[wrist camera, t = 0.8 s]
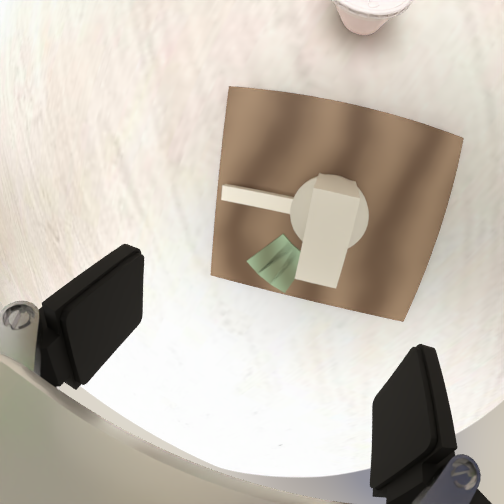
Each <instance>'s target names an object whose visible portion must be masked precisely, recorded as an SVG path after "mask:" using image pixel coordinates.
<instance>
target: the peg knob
mask: <svg viewBox="0 0 504 504" xmlns="http://www.w3.org/2000/svg"><path fill="white" fill-rule="evenodd" d="M221 200H224V201H229V202H234V203H239V204H244V205H249V206H254V207H259V208H264V209H268V210H273V211H278V212H282V213H287V214H290V218H291V223H292V227H293V229H294V231H295V233H296V234H297V236H298V237H299V238H300V239H301V240H302V241H303V243H302V247H301V252H300V257H299V261H298V266H297V270H296V275H295V279H298V280H302V281H306V282H310V283H314V284H319V285H323V286H327V287H331V288H335V289H336V287H337V284H338V280H339V277H340V274H341V270H342V267H343V263H344V260H345V256H346V253H347V249H348V248H350V247H351V246H353V245H354V244H356V243H357V242H358V241H359V240H360V239H361V237H362V236H363V234H364V232H365V230H366V228H367V225H368V220H369V211H368V206H367V202H366V200H365V197H364V195H363V193H362V192H361V190H360V189H359V188H358V187H357V184H356V181H351V180H348V179H346V178H344V177H342V176H338V175H333V174H321V173H319V175H318V176H316V177H313V178H311V179H310V180H308V181H307V182H305V183H304V184H303V185H302V186H301V187H300V188H299V190H298V191H297V193H296V194H295V196H294V197H291V196H286V195H281V194H276V193H271V192H266V191H261V190H256V189H251V188H246V187H240V186H235V185H230V184H224V185H223V186H222V196H221Z"/></svg>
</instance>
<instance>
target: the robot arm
mask: <svg viewBox="0 0 504 504" xmlns="http://www.w3.org/2000/svg"><path fill="white" fill-rule="evenodd" d="M143 274H144V256H143V255H142V254H141V251H140V249H138V248H135V247H133V246H130V245H128V244H123V245H121V246H120V247H118V248H117V249H115V250H114V251H113V252H111V253H110V254H108V255H107V256H105V257H104V258H102V259H101V260H100V261H98V262H97V263H95V264H94V265H92V266H91V267H90V268H88V269H87V270H85V271H84V272H83V273H81V274H80V275H78V276H77V277H76V278H74V279H73V280H72V281H70V282H69V283H67V284H66V285H65V286H63V287H62V288H61V289H59V290H58V291H57V292H55V293H54V294H53V295H51V296H50V297H49V298H47V299H46V300H45V301H44V302H42V307H41V308H40V309H39V310H38V308H37V307H36V306H35V305H34V304H33V303H30V302H28V301H16V302H13V303H10V304H9V305H7V306H5V307H4V308H3V309H2V310H1V312H0V504H349V503H342V502H335V501H329V500H323V499H317V498H312V497H307V496H301V495H297V494H293V493H289V492H284V491H280V490H276V489H272V488H268V487H265V486H261V485H258V484H254V483H251V482H247V481H244V480H241V479H238V478H235V477H232V476H229V475H226V474H223V473H220V472H217V471H214V470H212V469H209V468H206V467H204V466H201V465H198V464H196V463H193V462H191V461H188V460H186V459H184V458H181V457H179V456H177V455H174V454H172V453H170V452H168V451H166V450H163V449H161V448H159V447H157V446H155V445H153V444H151V443H149V442H147V441H145V440H142V439H141V438H139V437H137V436H135V435H133V434H131V433H129V432H127V431H125V430H123V429H121V428H120V427H118V426H116V425H114V424H113V423H111V422H109V421H107V420H106V419H104V418H102V417H101V416H99V415H97V414H96V413H94V412H92V411H91V410H89V409H87V408H86V407H84V406H83V405H81V404H80V403H78V402H76V401H75V400H73V399H72V398H70V397H69V396H67V395H66V394H64V393H63V392H61V391H60V386H61V385H62V384H63V382H65V383H67V384H68V385H70V386H71V387H72V388H74V389H77V388H78V387H79V386H80V385H81V384H82V385H85V384H86V383H87V382H88V381H89V380H90V379H91V378H92V377H93V376H94V374H95V373H96V372H97V371H98V370H99V369H100V368H101V366H102V365H103V364H104V363H105V362H106V361H107V360H108V358H109V357H110V356H111V355H112V354H113V353H114V352H115V351H116V349H117V348H118V347H119V346H120V345H121V344H122V343H123V342H124V340H125V339H126V338H127V337H128V336H129V335H130V334H131V333H132V332H133V330H134V329H135V328H136V327H137V326H138V325H139V324H140V322H141V319H142V312H143ZM456 449H457V443H456V438H455V431H454V425H453V420H452V415H451V410H450V405H449V401H448V396H447V392H446V388H445V383H444V379H443V375H442V371H441V368H440V364H439V360H438V357H437V353H436V350H435V348H433V347H429V346H426V345H422V344H419V345H417V346H416V347H412V348H411V349H410V351H409V352H408V354H407V355H406V356H405V358H404V359H403V361H402V362H401V364H400V365H399V366H398V368H397V369H396V370H395V372H394V373H393V374H392V376H391V377H390V378H389V380H388V381H387V382H386V384H385V385H384V386H383V388H382V389H381V390H380V391H379V393H378V394H377V395H376V397H375V398H374V401H373V406H372V455H371V473H370V474H371V475H370V487H371V488H373V497H386V498H387V500H386V504H491V502H490V501H488V500H487V498H486V497H485V496H484V495H483V494H482V493H481V492H480V491H479V490H478V489H477V488H478V486H479V483H480V476H481V474H480V470H479V467H478V465H477V463H476V462H475V461H474V460H473V459H472V458H471V457H469V456H467V455H464V454H460V455H456V456H455V452H454V451H455V450H456Z"/></svg>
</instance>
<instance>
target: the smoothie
mask: <svg viewBox="0 0 504 504" xmlns="http://www.w3.org/2000/svg"><path fill="white" fill-rule="evenodd" d="M331 1H332V2H334V4H335V6H336V8H337V10H338V13H339V15H340V17H341V20H342V22H343V24H344V25H345V27H346V28H347V29H348V30H350V31H351V32H353V33H355V34H358V35H370V34H373V33H374V32H376V31H377V30H378V29H379V28H380V27H381V26H382V25H383V24H384V23H386V22H387V21H388V20H389V19H390V18H392V17H395V16H397V15H400V14H401V13H403V12H404V11H405V10H406V9H408V7H409V6H410V4H411V3H412V1H413V0H331Z"/></svg>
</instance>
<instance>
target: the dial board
mask: <svg viewBox="0 0 504 504" xmlns="http://www.w3.org/2000/svg"><path fill="white" fill-rule="evenodd" d="M462 143H463V138H462V137H459V136H456V135H454V134H451V133H448V132H446V131H443V130H440V129H437V128H434V127H431V126H428V125H425V124H422V123H419V122H416V121H413V120H409V119H406V118H403V117H399V116H396V115H392V114H389V113H385V112H381V111H378V110H374V109H370V108H366V107H361V106H357V105H353V104H348V103H344V102H339V101H334V100H329V99H324V98H318V97H313V96H307V95H300V94H294V93H287V92H280V91H272V90H263V89H254V88H244V87H231V86H229V90H228V98H227V106H226V115H225V123H224V132H223V141H222V150H221V160H220V170H219V180H218V190H217V201H216V212H215V224H214V236H213V249H212V263H211V275H212V276H216V277H219V278H223V279H227V280H231V281H234V282H238V283H242V284H246V285H250V286H254V287H258V288H262V289H266V290H269V291H273V292H277V293H281V294H285V295H290V296H294V297H298V298H302V299H306V300H310V301H314V302H318V303H323V304H327V305H331V306H335V307H340V308H344V309H348V310H353V311H357V312H361V313H366V314H370V315H375V316H379V317H384V318H389V319H393V320H398V321H402V322H403V321H404V319H405V317H406V315H407V313H408V310H409V308H410V306H411V304H412V301H413V299H414V297H415V294H416V292H417V290H418V287H419V285H420V282H421V280H422V277H423V275H424V272H425V270H426V267H427V265H428V262H429V259H430V257H431V254H432V251H433V248H434V245H435V242H436V240H437V237H438V234H439V231H440V228H441V224H442V221H443V218H444V215H445V212H446V208H447V205H448V201H449V198H450V194H451V190H452V187H453V183H454V179H455V175H456V171H457V167H458V162H459V158H460V153H461V148H462ZM319 173H321V174H333V175H338V176H342V177H344V178H346V179H348V180H351V181H356V184H357V187H358V188H359V189H360V190H361V192H362V193H363V195H364V197H365V200H366V202H367V206H368V211H369V220H368V225H367V228H366V230H365V232H364V234H363V236H362V237H361V239H360V240H359V241H358V242H357V243H356V244H354V245H353V246H351V247H350V248H348V249H347V253H346V256H345V260H344V263H343V267H342V270H341V274H340V277H339V280H338V284H337V287H336V289H335V288H331V287H327V286H323V285H319V284H314V283H310V282H306V281H302V280H298V279H295V275H296V270H297V266H298V261H299V257H300V252H301V247H302V243H303V241H302V240H301V239H300V238H299V237H298V236H297V234H296V233H295V231H294V229H293V227H292V223H291V218H290V214H287V213H282V212H278V211H273V210H268V209H264V208H259V207H254V206H249V205H244V204H239V203H234V202H229V201H224V200H221V196H222V186H223V185H224V184H230V185H235V186H240V187H246V188H251V189H256V190H261V191H266V192H271V193H276V194H281V195H286V196H291V197H294V196H295V194H296V193H297V191H298V190H299V188H300V187H301V186H302V185H303V184H304V183H305V182H307V181H308V180H310V179H311V178H313V177H316V176H318V175H319Z"/></svg>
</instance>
